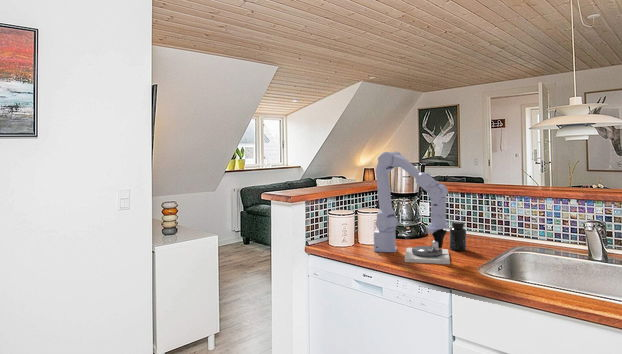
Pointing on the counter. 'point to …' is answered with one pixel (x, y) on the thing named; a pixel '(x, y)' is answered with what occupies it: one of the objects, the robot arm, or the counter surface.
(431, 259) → the dial plate
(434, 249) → the dial
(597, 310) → the counter surface
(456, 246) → the supplement bottle
